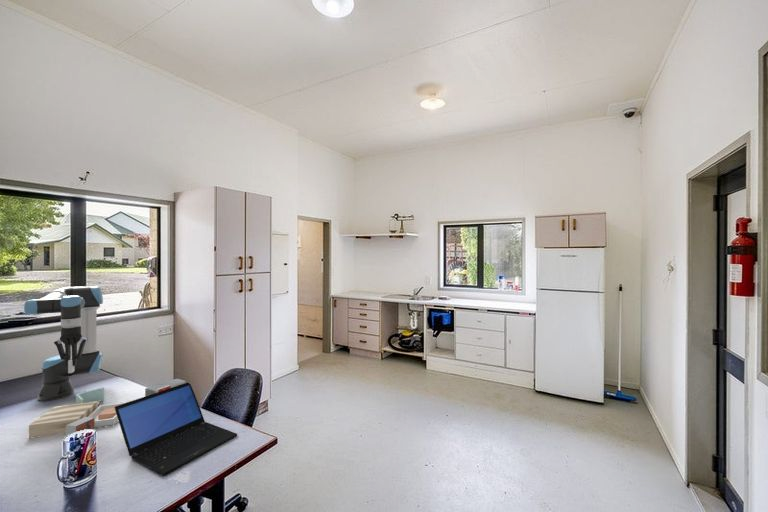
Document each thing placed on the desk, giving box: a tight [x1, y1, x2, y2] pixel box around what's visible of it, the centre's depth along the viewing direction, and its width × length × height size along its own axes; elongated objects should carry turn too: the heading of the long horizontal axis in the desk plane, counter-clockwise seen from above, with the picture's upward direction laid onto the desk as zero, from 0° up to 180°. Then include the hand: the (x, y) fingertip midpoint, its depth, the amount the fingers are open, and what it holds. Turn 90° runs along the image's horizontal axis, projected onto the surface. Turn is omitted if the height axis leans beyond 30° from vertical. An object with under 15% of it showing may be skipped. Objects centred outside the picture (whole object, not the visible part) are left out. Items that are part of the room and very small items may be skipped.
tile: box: [98, 408, 116, 420], centre depth 171 cm, size 7×7×3 cm
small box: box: [65, 417, 95, 437], centre depth 147 cm, size 8×6×10 cm
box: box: [88, 401, 128, 429], centre depth 171 cm, size 20×13×4 cm, turn 20°
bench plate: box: [28, 401, 99, 439], centre depth 165 cm, size 20×18×6 cm
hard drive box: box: [144, 378, 186, 397], centre depth 165 cm, size 16×8×20 cm, turn 153°
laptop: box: [115, 382, 238, 476], centre depth 149 cm, size 33×38×19 cm
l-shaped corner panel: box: [75, 387, 105, 406], centre depth 186 cm, size 12×12×8 cm
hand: (71, 372), depth 170 cm, fingers closed
